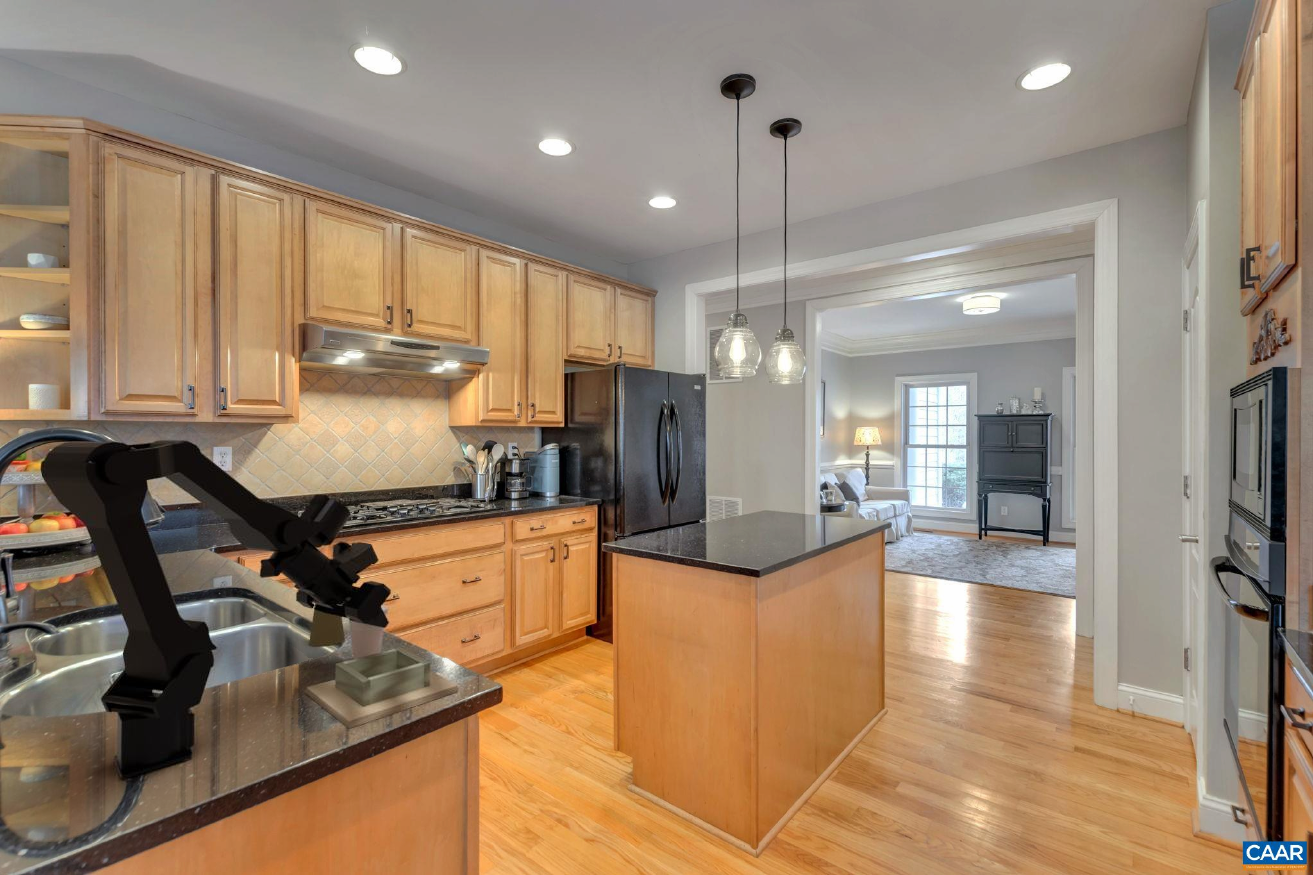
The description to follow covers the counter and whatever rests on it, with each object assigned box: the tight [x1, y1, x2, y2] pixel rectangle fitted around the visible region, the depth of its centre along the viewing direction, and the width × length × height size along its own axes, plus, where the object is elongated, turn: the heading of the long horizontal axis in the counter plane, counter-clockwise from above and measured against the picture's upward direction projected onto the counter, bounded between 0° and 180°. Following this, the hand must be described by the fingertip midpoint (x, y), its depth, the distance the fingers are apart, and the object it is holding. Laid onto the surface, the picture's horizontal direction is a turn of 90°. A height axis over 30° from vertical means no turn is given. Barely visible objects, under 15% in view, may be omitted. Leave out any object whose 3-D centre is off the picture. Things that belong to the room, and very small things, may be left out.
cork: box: [308, 603, 346, 648], centre depth 115 cm, size 6×6×11 cm
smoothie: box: [346, 604, 389, 659], centre depth 103 cm, size 6×6×14 cm
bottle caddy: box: [306, 647, 459, 729], centre depth 92 cm, size 16×16×4 cm
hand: (374, 621), depth 104 cm, fingers closed on smoothie, 6 cm apart
